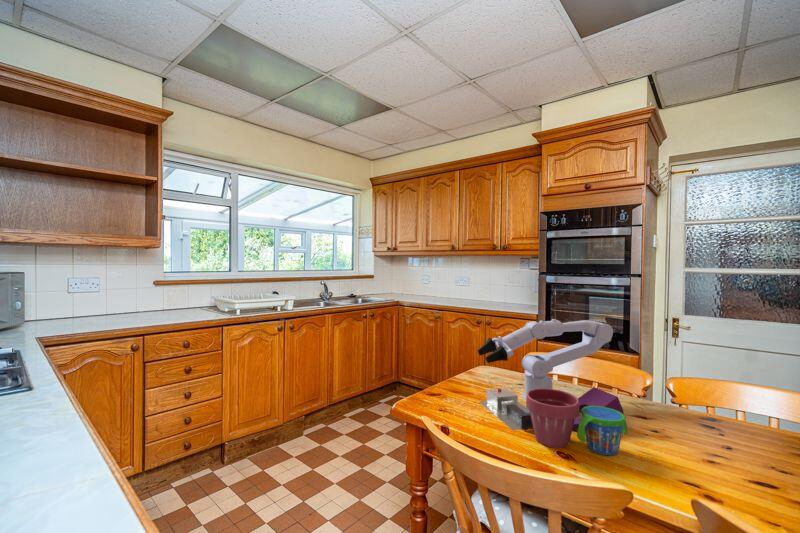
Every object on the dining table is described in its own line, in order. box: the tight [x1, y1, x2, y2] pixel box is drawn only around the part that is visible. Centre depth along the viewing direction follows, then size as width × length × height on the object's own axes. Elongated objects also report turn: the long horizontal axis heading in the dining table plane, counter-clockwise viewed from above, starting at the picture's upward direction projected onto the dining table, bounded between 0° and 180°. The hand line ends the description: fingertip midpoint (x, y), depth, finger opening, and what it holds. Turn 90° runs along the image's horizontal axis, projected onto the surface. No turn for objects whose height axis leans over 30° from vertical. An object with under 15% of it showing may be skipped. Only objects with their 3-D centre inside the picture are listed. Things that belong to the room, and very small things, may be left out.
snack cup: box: [576, 406, 628, 456], centre depth 101 cm, size 16×10×10 cm
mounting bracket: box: [572, 386, 625, 431], centre depth 117 cm, size 9×8×18 cm
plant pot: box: [525, 388, 580, 449], centre depth 106 cm, size 14×14×13 cm
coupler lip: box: [478, 400, 533, 431], centre depth 125 cm, size 14×24×4 cm, turn 13°
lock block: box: [486, 387, 519, 410], centre depth 133 cm, size 8×8×5 cm
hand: (482, 356), depth 136 cm, fingers open, 7 cm apart
